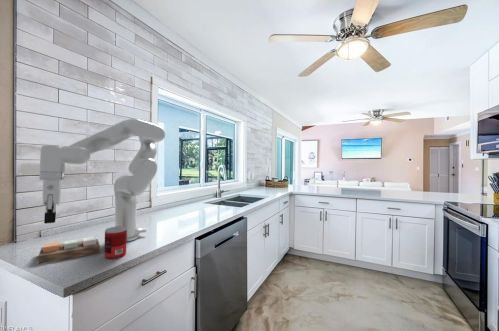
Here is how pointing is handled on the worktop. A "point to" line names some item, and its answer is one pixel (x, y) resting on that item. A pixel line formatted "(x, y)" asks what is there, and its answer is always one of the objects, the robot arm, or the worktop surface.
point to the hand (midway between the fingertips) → (49, 222)
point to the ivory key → (89, 241)
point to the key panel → (68, 252)
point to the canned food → (115, 242)
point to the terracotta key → (51, 247)
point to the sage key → (71, 244)
